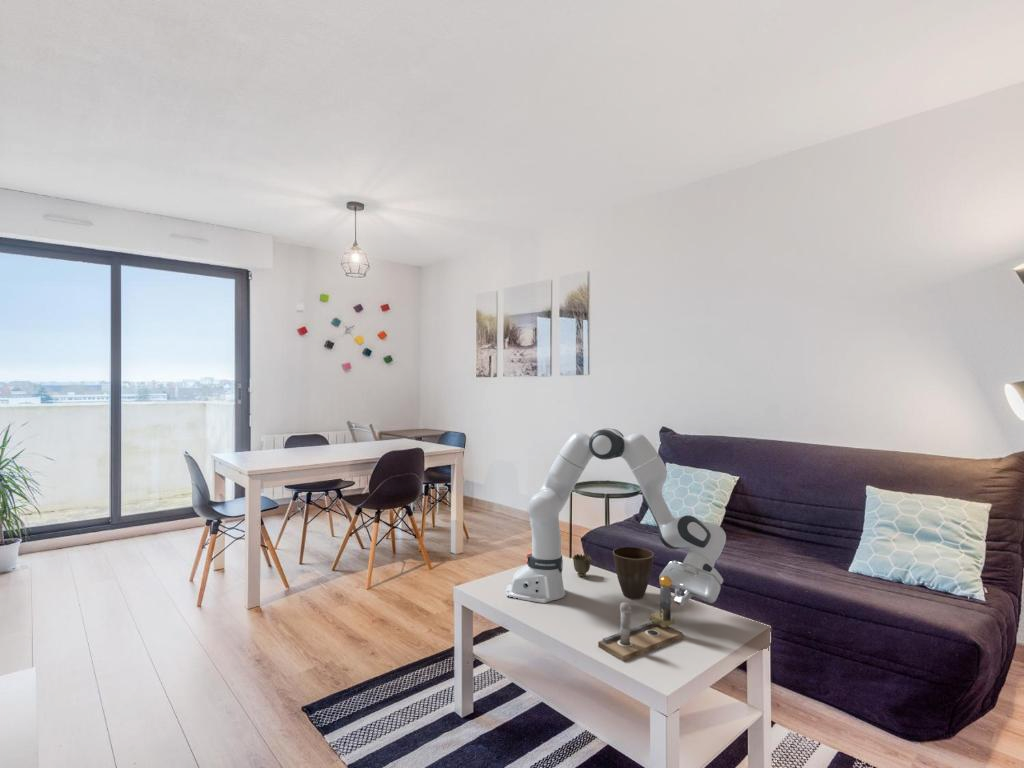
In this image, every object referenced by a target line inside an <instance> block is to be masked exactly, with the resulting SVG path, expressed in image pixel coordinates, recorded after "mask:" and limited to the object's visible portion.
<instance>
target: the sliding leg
mask: <svg viewBox="0 0 1024 768" xmlns="http://www.w3.org/2000/svg"><path fill="white" fill-rule="evenodd" d="M658 583H659V586H660V587H659V591H660V592H659V593H660V595H659V596H660V597H659V599H660V600H659V601H660V602H659V603H660V605H659V610H660V611H657V612H654V613H651V614H649V621H650V622H654V623H656V624H658V625H660V626H662V627H668V626H669V627H672V626H674V624H675V618H674V617H672V588H671V585H672V581H671V579H670V578H669V577H668V576H663V577H661V578H660V580H659V582H658Z"/></svg>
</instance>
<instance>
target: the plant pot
mask: <svg viewBox="0 0 1024 768" xmlns="http://www.w3.org/2000/svg"><path fill="white" fill-rule="evenodd" d="M612 554H613V555H612V556H613V560H614V561H613V562H614V568H615V572H616V575H617V576H616V577H617V580H618V584H619V585H620V589H621V592H622V595H623V597H625V598H627V599H630V600H641V599H643V598H644V596H645V594H646V591H647V588H648V585H649V582H650V580H651V579H650V578H651V574H652V569H653V564H654V558H655V557H654V556H655V553H654V552H653V551H651V550H649V549H647V548H643V547H636V546H622V547H616V548H614V549H613V550H612Z"/></svg>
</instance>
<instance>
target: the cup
mask: <svg viewBox="0 0 1024 768" xmlns="http://www.w3.org/2000/svg"><path fill="white" fill-rule="evenodd" d="M572 561H573V562H572V563H573V568H574V570H575V572H576V574H577V576H578V577H579V576H582V577H581V578H584V577H583V576H585V577H586V576H587V573H588V572H589V571H590V568H591V561H592V557H591V556H590V555H587V554H582V553H581V554H579V553H577V554H574V555H573V556H572Z"/></svg>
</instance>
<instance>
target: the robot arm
mask: <svg viewBox="0 0 1024 768" xmlns="http://www.w3.org/2000/svg"><path fill="white" fill-rule="evenodd" d="M593 457H595V458H597V459H599V460H601V461H603V460H605V461H606V460H612V459H616V458H622V459H624V461H625V462H626V463H627V465H628V466H629V469H630V470H631V471H632V473H633V475H634V477H635V478H636V482H638V485H639V488H640V491H641V494H642V496H643V499H644V501H645V503H646V505H647V508H648V509H649V511H650V513H651V515H652V517H653V519H654V521H655V524H656V527H657V532H658V537H659V539H660V541H661V543H662V544H663V545H664V546H665V547H666V548H668V549H670V550H680V549H683V548H684V547H685V548H687V549H688V552H687V554H686V556H685V557H684V560H683V562H682V561H678V560H675V559H674V560H672V561H669V562H668V564H667V565H666V566H665V567H664V568H663V570H662V571H661V572H660V573H659V575H658V579H659V580H660V578H661V577H663V576H668V577H669V578H670V579H671V581H672V585H671V589H673V590H674V597H673V599H672V601H673V603H674V604H677V605H679V606H681V607H683V606H684V604H685V603H687V602H688V601H690V600H691V599H692V597H693V598H696V599H699V600H701V601H704V602H707V603H709V604H713V603H715V602H716V601H717V599H718V598H719V597H718V596H719V594H720V592H721V585H722V584H723V583H724V578H723V577H722V575H721V574H720V573H719V572H718V570H717V569H716V568H715V564H716V563H715V562H716V560H718V559H719V558H720V555H721V554H722V551H723V549H724V546H725V544H726V540H727V534H726V532H725V530H724V529H723V527H721V526H720V525H718V524H717V523H715V522H713V521H703V520H700V519H698V518H697V517H695V516H693V515H688V514H687V515H683V516H680V517H677V518H675V517H674V516H673V515H672V513H671V511H670V509H669V506H668V505H667V503H666V500H665V499H664V495H663V486H664V484H665V482H666V480H667V476H668V470H667V467H666V464H665V462H664V460H663V459H662V457H661V456H660V455H659V453H658V451H657V450H656V448H655V447H654V445H652V443H651V442H650V440H649V439H648V438H647V437H646V436H645V435H644V434H642V433H638V432H637V433H631V434H630V435H628V436H624V435H623V433H622V432H620V431H619V430H617V429H615V428H609V427H608V428H607V427H606V428H602V429H598V430H596V431H595V432H593V433H592V435H589V434H587V433H584V432H579V431H577V432H574V433H572V434H571V436H570V437H569V438H568V439H567V441H566V442H565V443H564V444H563V446H562V447H561V449H560V450H559V453H558V454H557V455H556V458H555V459H554V461H553V463H552V465H551V467H550V468H549V470H548V473H547V475H546V477H545V480H544V481H543V483H542V486H541V488H539V490H538V492H536V493H535V494H534V495H532V496H531V498H530V499H529V502H528V505H527V512H528V517H529V523H530V529H531V551H528V553H527V554H526V564H525V565H523V566H521V568H519V569H518V570H517V571H515V573H514V574H513V576H512V580H511V583H509V584H508V585H507V586H506V588H505V592H504V594H506V595H507V596H509V597H508V598H510V597H513V598H512V599H516V598H518V599H517V600H523V601H530V602H535V603H541V604H546V603H549V602H552V601H555V600H560V599H562V598H564V597H565V596H566V591H565V586H564V581H563V573H562V572H563V566H564V563H563V561H564V560H563V554H562V533H561V528H560V521H559V515H560V513H561V511H563V509H564V507H565V505H566V504H567V501H568V499H569V497H570V496H571V494H572V492H573V490H574V488H575V486H576V484H577V483H578V482H579V479H580V477H581V475H582V474H583V473H584V471H585V469H586V467H587V466H588V464H589V462H590V460H591V459H592V458H593ZM683 594H684V595H683ZM506 595H505V596H506ZM680 595H683V596H681V597H680ZM507 596H506V597H507Z"/></svg>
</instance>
